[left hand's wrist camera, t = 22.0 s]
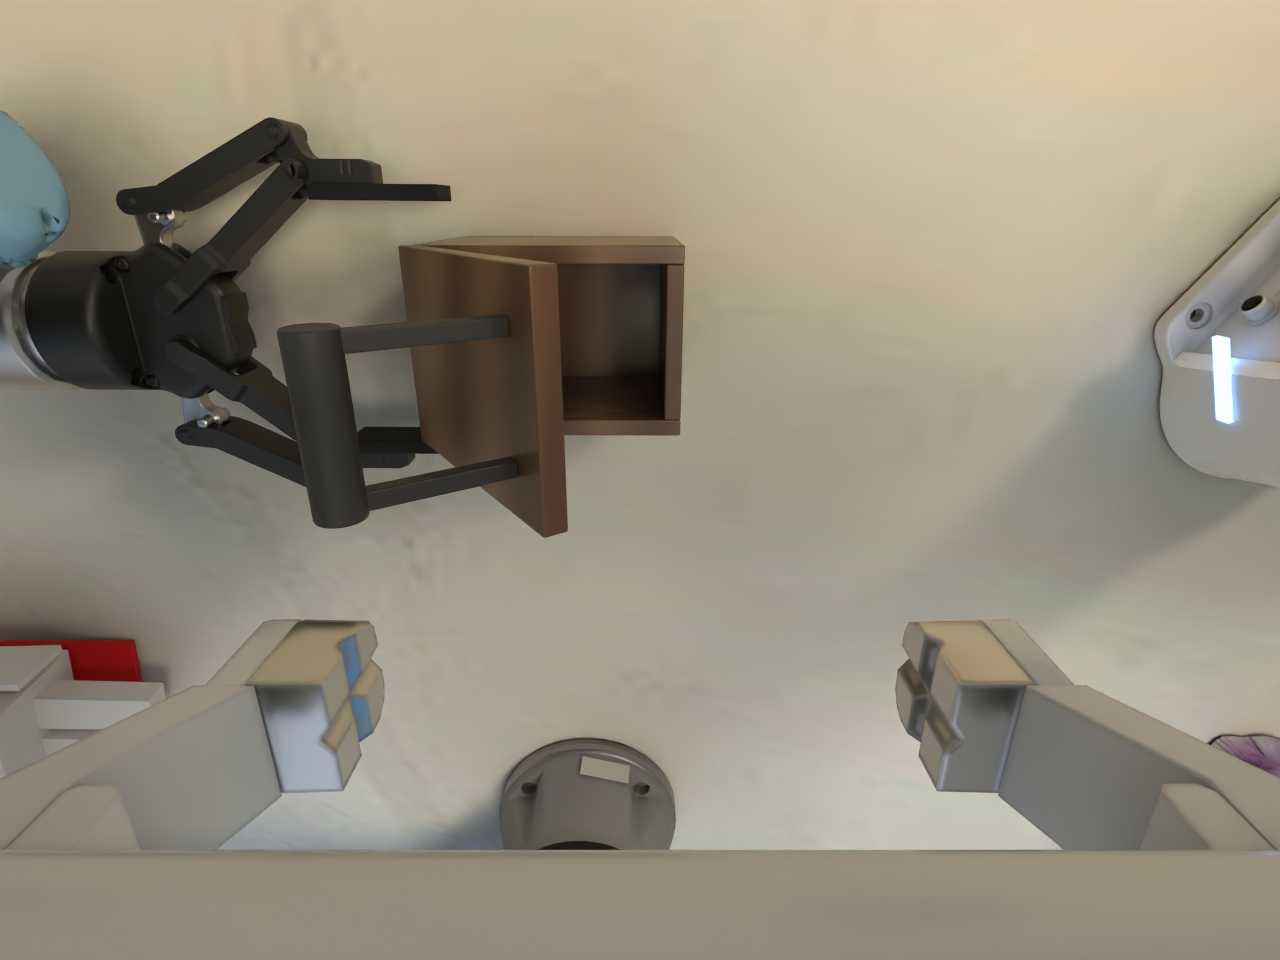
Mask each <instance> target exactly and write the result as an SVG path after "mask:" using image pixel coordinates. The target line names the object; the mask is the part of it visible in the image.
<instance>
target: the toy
mask: <svg viewBox="0 0 1280 960" xmlns="http://www.w3.org/2000/svg"><path fill="white" fill-rule="evenodd" d="M165 699H166V697H165V689H164V683H162V682H142V681H141V676H140V670H139V665H138V659H137V654H136V648H135V643H134V640H129V641H0V778H2V777H4V776H6V775H8V774H10V773H12V772H14V771H16V770H18V769H20V768H23V767H25V766H27V765H29V764H31V763H33V762H35V761H37V760H39V759H41V758H43V757H46V756H48V755H50V754H52V753H54V752H56V751H58V750H60V749H62V748H64V747H66V746H69V745H71V744H73V743H75V742H77V741H79V740H81V739H83V738H85V737H87V736H89V735H92V734H94V733H96V732H98V731H100V730H102V729H104V728H106V727H108V726H110V725H112V724H115V723H117V722H119V721H121V720H123V719H125V718H127V717H129V716H131V715H133V714H135V713H138V712H140V711H142V710H144V709H146V708H148V707H150V706H152V705H154V704H156V703H158V702H161V701H163V700H165Z"/></svg>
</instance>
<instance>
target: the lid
mask: <svg viewBox="0 0 1280 960" xmlns="http://www.w3.org/2000/svg"><path fill="white" fill-rule="evenodd" d="M398 248H399V256H400V264H401V272H402V281H403V289H404V297H405V305H406V313H407V322H405V323H393V324H382V325H370V326H358V327H347V328H340V326H339V325H336V324H330V323H307V324H296V325H289V326H285V327H281V328H279V329H278V330H277V335H278V341H279V346H280V351H281V356H282V361H283V367H284V372H285V377H286V382H287V387H288V393H289V398H290V403H291V408H292V413H293V419H294V424H295V429H296V434H297V439H298V445H299V450H300V455H301V460H302V465H303V471H304V476H305V481H306V486H307V491H308V497H309V502H310V507H311V512H312V517H313V522H314V523H315V524H316V525H317V526H319V527H322V528H343V527H348V526H352V525H355V524H358V523H360V522H362V521H364V520H365V519H366V518H367V517H368V516H369V511H371V510H376V509H380V508H385V507H389V506H394V505H398V504H403V503H407V502H411V501H416V500H420V499H425V498H429V497H434V496H438V495H443V494H447V493H451V492H456V491H460V490H465V489H469V488H474V487H478V486H480V487H481V488H482V489H484V490H485V491H486V492H487V493H489V494H490V495H491V496H492V497H494V498H495V499H496V500H497V501H499V502H500V503H501V504H502V505H504V506H505V507H506V508H507V509H509V510H510V511H511V512H512V513H514V514H515V515H516V516H517V517H519V518H520V519H521V520H522V521H524V522H525V523H526V524H527V525H529V526H530V527H531V528H532V529H534V530H535V531H536V532H537V533H539V534H540V535H541V536H542V537H544V538H546V537H549V536H553V535H556V534H560V533H564V532H567V531H568V523H567V498H566V473H565V448H564V424H563V399H562V374H561V350H560V325H559V300H558V276H557V264H555V263H548V262H541V261H533V260H526V259H518V258H511V257H503V256H496V255H488V254H481V253H473V252H466V251H458V250H451V249H443V248H436V247H428V246H421V245H408V246H399V247H398ZM406 347H411V355H412V363H413V371H414V379H415V387H416V396H417V404H418V412H419V420H420V429H421V437H422V440H423V441H424V442H425V443H426V444H428V445H429V446H430V447H431V448H433V449H434V450H435V451H436V452H438V453H439V454H440V455H441V456H443V457H444V458H445V459H446V460H448V461H449V462H450V463H451V464H453V465H454V466H455V467H456V468H451V469H446V470H441V471H436V472H431V473H426V474H422V475H417V476H412V477H407V478H402V479H397V480H392V481H388V482H383V483H378V484H373V485H368V486H365V480H364V474H363V468H362V461H361V455H360V449H359V442H358V436H357V430H356V423H355V417H354V411H353V404H352V398H351V392H350V385H349V379H348V373H347V366H346V360H345V354H349V353H358V352H368V351H377V350H387V349H396V348H406Z"/></svg>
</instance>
